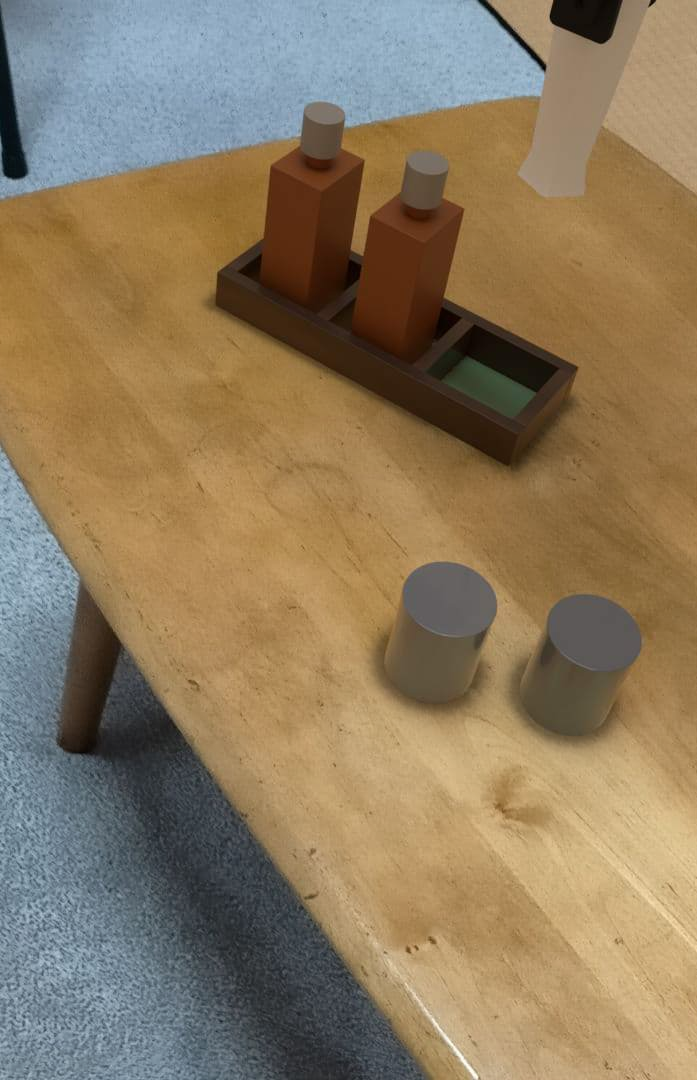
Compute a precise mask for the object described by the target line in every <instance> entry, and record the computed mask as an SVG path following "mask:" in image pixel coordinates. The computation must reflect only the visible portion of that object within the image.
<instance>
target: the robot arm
mask: <svg viewBox="0 0 697 1080" xmlns="http://www.w3.org/2000/svg"><path fill="white" fill-rule="evenodd" d="M622 1H623V0H552V3H551V7H550V11H549V15H548V16H549V21H550V23H551V24H552V25H553V26H554V25H555V26H558V27H560V28H562V29H565V30H567V31H569V32H572V33H574V34H577V35H579V36H581V37H584V38H586V39H588V40H591V41H593V42H596V43H598V44H604V43H606V42H607V41H608V40H609V39H610V38H611V37H612V35H613V31H614V28H615V25H616V21H617V18H618V15H619V11H620V8H621V5H622ZM656 2H657V0H651V1H650V3H649V6H648V8H651V7H652V6H653V5H654V4H656ZM648 8H647V9H648Z"/></svg>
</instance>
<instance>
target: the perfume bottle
mask: <svg viewBox="0 0 697 1080" xmlns="http://www.w3.org/2000/svg"><path fill="white" fill-rule="evenodd" d="M650 1H651V0H623V1H622V5H621V8H620V11H619V15H618V18H617V21H616V25H615V28H614V31H613V35H612V37H611V38H610V39H609V40H608V41H607V42H606V43H604V44H598V43H596V42H593V41H591V40H588V39H586V38H584V37H581V36H579V35H577V34H574V33H572V32H569V31H567V30H565V29H562V28H560V27H558V26H555V25H553V30H552V35H551V41H550V46H549V52H548V55H547V56H548V57H547V62H546V67H545V72H544V78H543V84H542V90H541V93H540V100H539V106H538V111H537V117H536V121H535V126H534V127H535V128H534V133H533V138H532V143H531V149H530V151H529V152H528V154H527V155H526V157H525V159H524V161H523V163H522V165H521V166H520V168H519V170H518V172H517V176H519V177H520V178H521V179H522V180H523V181H524V182H525V183H526V184H528V185H529V186H530V187H531V188H532V189H533V190H535V192H537V193H538V194H539V195H540V196H541V197H543V198H563V197H565V198H566V197H582V196H584V195H585V190H586V172H587V171H586V170H587V165H588V162H589V160H590V158H591V154H592V152H593V149H594V146H595V144H596V141H597V139H598V136H599V134H600V131H601V128H602V126H603V124H604V121H605V118H606V116H607V114H608V111H609V109H610V106H611V103H612V101H613V98H614V96H615V93H616V90H617V88H618V86H619V83H620V80H621V77H622V76H623V73H624V70H625V68H626V65H627V62H628V60H629V57H630V54H631V52H632V49H633V47H634V44H635V42H636V40H637V36H638V34H639V31H640V29H641V26H642V23H643V21H644V18H645V16H646V13H647V11H648V6H649V3H650Z"/></svg>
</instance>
